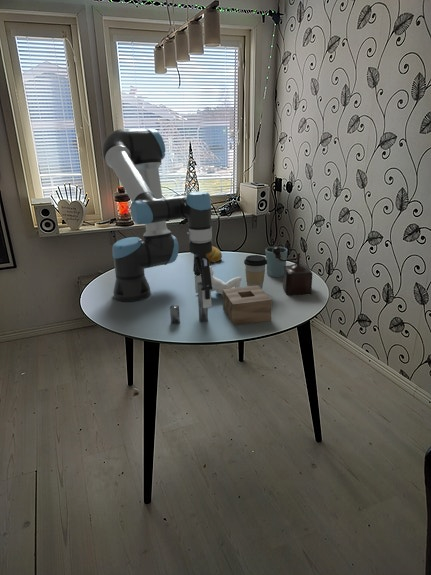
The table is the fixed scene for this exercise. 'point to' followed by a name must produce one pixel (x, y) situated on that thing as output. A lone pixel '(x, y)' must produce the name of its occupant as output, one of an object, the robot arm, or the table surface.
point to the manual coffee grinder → (295, 276)
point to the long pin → (201, 305)
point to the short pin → (174, 314)
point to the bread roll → (214, 255)
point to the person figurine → (220, 285)
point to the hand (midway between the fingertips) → (203, 299)
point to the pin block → (246, 305)
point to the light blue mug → (275, 262)
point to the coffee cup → (255, 270)
